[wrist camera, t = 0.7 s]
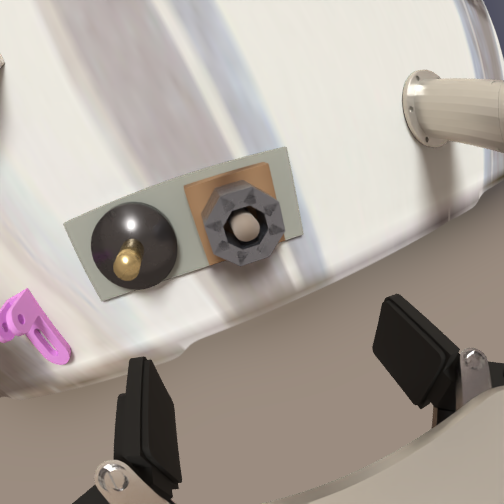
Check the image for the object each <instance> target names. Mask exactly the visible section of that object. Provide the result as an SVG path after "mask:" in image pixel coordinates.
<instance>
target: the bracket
mask: <svg viewBox="0 0 504 504" xmlns="http://www.w3.org/2000/svg"><path fill="white" fill-rule="evenodd" d="M2 326H3V328H4V330H3V328H2ZM37 329H39V330H41V331H42V332H43V334H44V335H45V336H46V337H47V339H48V340H49V341H50V342H51V344H52V345H53V346H54V347H55V348H56V350H57V351H56V350H54V349H53V348H52V347H51V346H50V345H49V344H48V342H47V341H46V340H45V339H44V338H43V336H42V335H41V334H40V332H39V331H38V330H37ZM24 334H26V336H27V337H28V338H29V339H30V341H31V342H32V343H33V344H34V346H35V347H36V348H37V349H38V350H39V352H40V353H41V354H42V355H43V356H44V357H45V358H46V359H47V360H49V361H50V362H52V363H55V364H59V365H63V364H66V363H67V362H68V361H69V358H70V355H71V348H70V346H69V344H68V343H67V342H66V340H65V339H64V338H63V337H62V335H61V334H60V333H59V332H58V330H57V329H56V328H55V326H54V325H53V324H52V322H51V321H50V320H49V318H48V317H47V316H46V314H45V313H44V311H43V310H42V309H41V307H40V306H39V304H38V303H37V301H36V300H35V298H34V297H33V295H32V294H31V292H30V291H29V289H28V288H27V289H25V290H23V291H21V292H20V293H18V294H16V295H15V296H13V297H11V298H10V299H8V300H7V301H6V302H5V304H4V305H3V306H2V308H1V309H0V342H2V343H6V342H8V341H10V340H12V339H13V338H14V336H15V335H17V336H21V335H24Z"/></svg>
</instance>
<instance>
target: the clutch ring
mask: <svg viewBox="0 0 504 504" xmlns="http://www.w3.org/2000/svg"><path fill="white" fill-rule="evenodd" d="M249 205H250V206H252V207H254V208H255V209H256V213H257V219H256V220H257V221H258V223H259V226H260V230H259V233H258V235H257V236H256V238H254V239H253V240H251V241H241V240H239V239H238V238H237V237H236V236H235V235H234V234H232V233H230V232H227V231H225V230H224V228H223V226H224V224H225V222H226V221H227V219H228V217H229V215H230V214H231V212H232V211H233V210H236V209H240V208H243V207H246V206H249ZM201 216H202V220H203V224H204V227H205V230H206V233H207V236H208V239H209V242H210V245H211V248H212V251H213V254H214V255H216V256H218V257H221V258H223V259H225V260H228V261H230V262H232V263H234V264H237V265H239V266H243V265H246V264H249V263H252V262H255V261H258V260H261V259H264V258H267V257H269V256H270V255H271V253H272V252H273V250H274V248H275V247H276V245H277V244H278V242H279V240H280V239H281V237H282V236H283V234H284V232H285V226H284V222H283V217H282V212H281V207H280V203H279V201H277V200H276V199H275V198H273V197H272V196H270V195H269V194H268V193H266V192H264V191H262V190H261V189H259V188H257V187H255V186H254V185H252V184H250V183H248V182H246V181H245V180H240V181H236V182H233V183H230V184H226V185H223V186H220V187H217V188H215V189H214V191H213V192H212V194H211V196H210V198H209V200H208V201H207V203H206V205H205V207H204V209H203V211H202V212H201Z"/></svg>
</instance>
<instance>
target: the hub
mask: <svg viewBox="0 0 504 504" xmlns="http://www.w3.org/2000/svg"><path fill="white" fill-rule="evenodd" d="M91 252H92V257H93V260H94V262H95V264H96V266H97V268H98V269H99V271H100V272H101V273H102V274H103V276H104V277H105V278H107V279H108V280H109V281H111V282H112V283H114V284H116V285H118V286H120V287H123V288H127V289H134V290H140V289H146V288H150V287H152V286H155V285H157V284H159V283H160V282H161V281H163V280H164V279H165V278H166V277H167V276H168V275H169V274H170V272H171V271H172V269H173V267H174V265H175V262H176V258H177V236H176V233H175V230H174V227H173V225H172V224H171V222H170V220H169V219H168V218H167V217H166V216H165V215H164V214H163V213H162V212H161V211H160V210H158V209H157V208H155V207H153V206H151V205H149V204H146V203H142V202H126V203H122V204H119V205H117V206H115V207H113V208H111V209H110V210H109V211H107V212H106V213H105V214H104V215H103V217H102V218H101V219H100V220H99V221H98V223H97V224H96V226H95V228H94V231H93V233H92V237H91Z"/></svg>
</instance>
